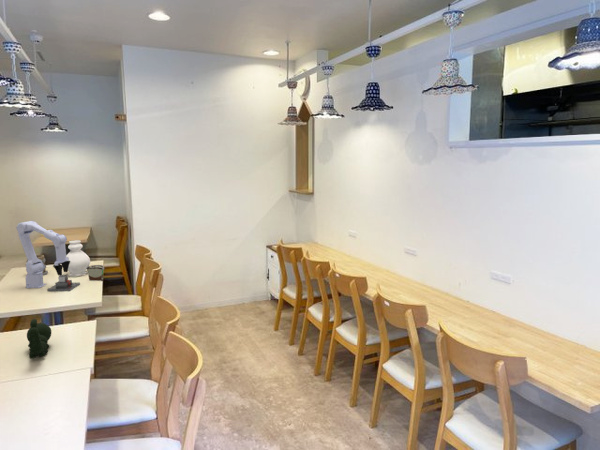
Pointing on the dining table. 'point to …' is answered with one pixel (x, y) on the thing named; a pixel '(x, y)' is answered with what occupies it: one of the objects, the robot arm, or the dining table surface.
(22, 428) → the dining table surface
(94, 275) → the food container
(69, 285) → the base
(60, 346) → the dining table surface
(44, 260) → the tankard
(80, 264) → the decorative vase
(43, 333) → the dark green bumpy clump
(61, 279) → the block
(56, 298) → the dining table surface
